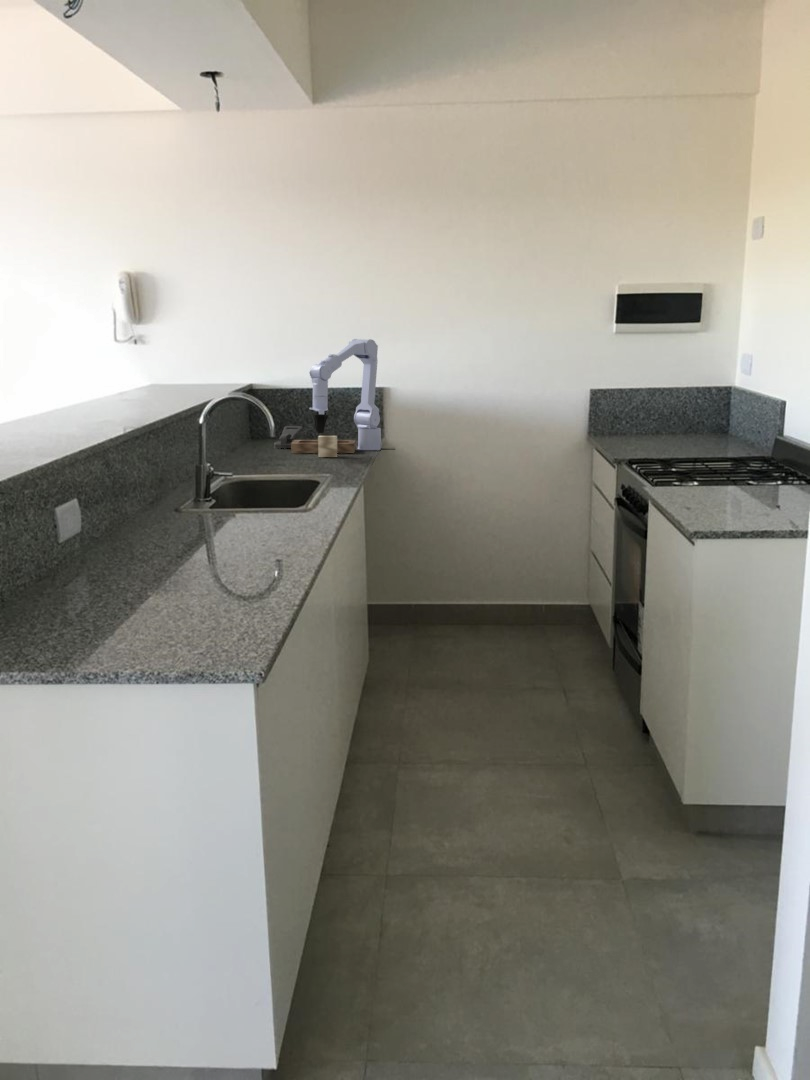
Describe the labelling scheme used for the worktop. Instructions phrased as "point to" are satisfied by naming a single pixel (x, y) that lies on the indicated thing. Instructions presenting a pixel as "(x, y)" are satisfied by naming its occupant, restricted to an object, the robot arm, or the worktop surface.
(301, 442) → the wooden compartment tray
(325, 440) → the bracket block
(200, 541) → the worktop surface
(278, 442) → the dark grey angled stand
